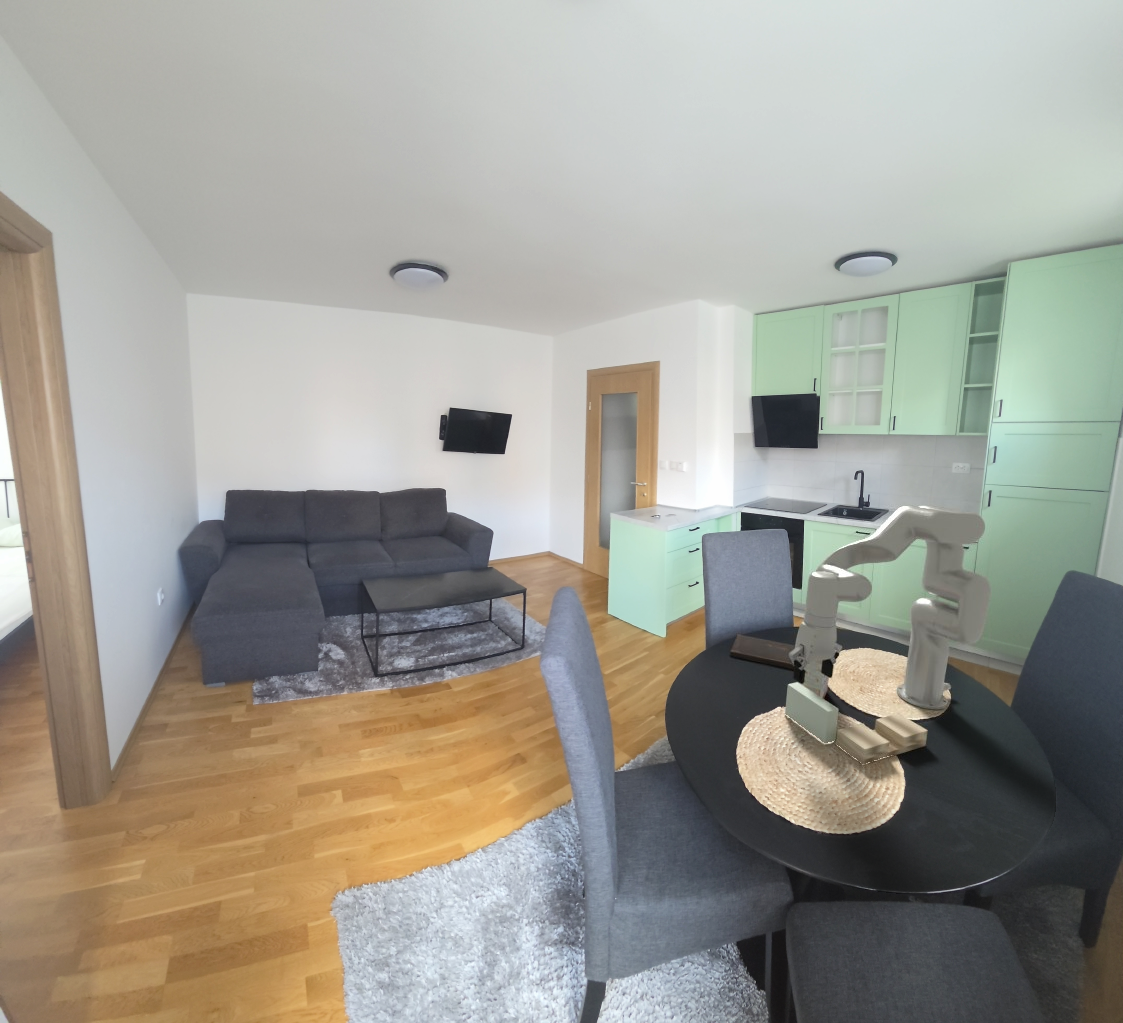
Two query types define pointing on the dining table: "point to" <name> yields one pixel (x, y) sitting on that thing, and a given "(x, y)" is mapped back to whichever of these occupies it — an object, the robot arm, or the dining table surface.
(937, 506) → the robot arm
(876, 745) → the slotted rail
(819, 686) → the cracker box
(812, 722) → the pale green plate
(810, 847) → the dining table surface
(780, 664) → the hardcover book
